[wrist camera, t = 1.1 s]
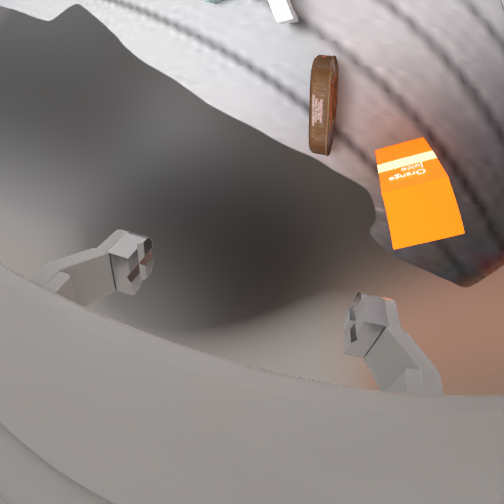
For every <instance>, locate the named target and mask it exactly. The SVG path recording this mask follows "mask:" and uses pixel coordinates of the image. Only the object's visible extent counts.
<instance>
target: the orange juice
mask: <svg viewBox="0 0 504 504" xmlns="http://www.w3.org/2000/svg"><path fill="white" fill-rule="evenodd" d="M375 154H376V159H377V167H378V173H379V178H380V185H381V192H382V197H383V200H384V204H385V208H386V213H387V218H388V223H389V228H390V233H391V238H392V244H393V250H394V249H398V248H403V247H407V246H412V245H417V244H421V243H426V242H430V241H434V240H439V239H443V238H447V237H452V236H456V235H460V234H464V233H465V232H464V228H463V224H462V220H461V216H460V213H459V209H458V206H457V202H456V199H455V196H454V193H453V190H452V187H451V184H450V181H449V177H448V176H447V174H446V172H445V171H444V169H443V167H442V165H441V164H440V162H439V160H438V159H437V157H436V155H435V153H434V152H433V150H432V149H431V148H430V146H429V145H428V143H427V142H426V140H425V139H424V137H422V138H418V139H414V140H411V141H407V142H403V143H400V144H396V145H392V146H389V147H385V148H382V149H378V150H375Z"/></svg>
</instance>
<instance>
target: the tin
mask: <svg viewBox="0 0 504 504" xmlns="http://www.w3.org/2000/svg"><path fill="white" fill-rule="evenodd" d="M337 84H338V66H337V59H336V56H325V55H318V56H317V57H316V58H315V59H314V61H313V65H312V70H311V81H310V110H309V147H310V150H311V152H313V153H317V154H322V155H326V156H329V154H330V151H331V146H332V142H333V137H334V129H335V118H336V102H337Z"/></svg>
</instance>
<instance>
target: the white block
mask: <svg viewBox="0 0 504 504" xmlns="http://www.w3.org/2000/svg"><path fill="white" fill-rule="evenodd" d="M268 1H269V3H270V6H271V8H272V11H273V13H274V16H275V18H276V21H277V22H278V23H282V24H287V23H289V24H292V23H296V22H300V21H299V18H298V16H297V13H295V12H294V9H293V7H292V4H291V2H290V0H268Z"/></svg>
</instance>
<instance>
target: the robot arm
mask: <svg viewBox="0 0 504 504" xmlns="http://www.w3.org/2000/svg"><path fill="white" fill-rule="evenodd" d="M502 4H503V7H504V0H502ZM151 249H152V240H151V239H150V238H147V237H144V236H141V235H138V234H134V233H131V232H127V231H124V230H117V231H115V232H114V233H113V234H112V235H111V236H110V237H109V238H107V239H106V240H105V241H104V242H103V243H102V244H101V245H100V246H99V247H97V249H95V248H92V249H88V250H85V251H82V252H79V253H76V254H73V255H70V256H67V257H64V258H61V259H58V260H55V261H52V262H49V263H46V264H45V265H44V266H43V267H42V268H41V269H40V270H39V271H38V272H37V273H36V274H35V275H34V276H33V277H31V278H30V279H29V278H27V277H25V276H24V275H22V274H20V273H18V272H17V271H15V270H13V269H11V268H10V267H8V266H7V265H5V264H3V263H1V262H0V504H504V395H491V396H445V395H444V394H443V389H442V384H441V379H440V374H439V371H438V370H437V368H436V367H435V366H434V365H433V363H432V362H431V361H430V360H429V359H428V357H427V356H426V355H425V354H424V353H423V351H422V350H421V349H420V348H419V347H418V345H417V344H416V343H415V342H414V341H413V339H412V338H411V337H410V336H409V335H408V334H407V332H406V331H404V330H402V329H401V325H400V320H399V316H398V312H397V308H396V303H395V301H394V300H393V299H389V298H384V297H382V298H381V297H377V296H373V295H369V294H364V293H360V292H358V293H357V294H356V296H355V298H354V306H352V307H350V308H349V309H348V312H347V314H346V317H345V320H344V327H343V329H344V330H343V331H344V333H345V334H346V337H345V339H344V354H347V355H352V356H357V357H362V358H364V361H365V363H366V364H367V366H368V368H369V369H370V371H371V373H372V375H373V377H374V379H375V380H376V382H377V384H378V386H379V388H380V390H381V391H380V390H371V389H364V388H356V387H350V386H344V385H337V384H332V383H326V382H320V381H315V380H310V379H305V378H300V377H295V376H291V375H286V374H281V373H277V372H273V371H268V370H265V369H261V368H257V367H252V366H249V365H245V364H241V363H238V362H234V361H230V360H227V359H224V358H220V357H217V356H213V355H210V354H207V353H204V352H201V351H197V350H194V349H191V348H188V347H185V346H182V345H179V344H176V343H173V342H170V341H167V340H165V339H162V338H159V337H156V336H154V335H151V334H148V333H146V332H142V331H141V330H138V329H135V328H132V327H130V326H128V325H125V324H123V323H120V322H118V321H116V320H113V319H111V318H109V317H106V316H104V315H102V314H99V313H97V312H95V311H93V310H90V309H88V308H86V307H87V306H89V305H90V304H92V303H94V302H96V301H98V300H100V299H101V298H103V297H105V296H107V295H109V294H111V293H113V292H114V291H116V290H118V291H120V292H123V293H126V294H130V295H132V296H133V295H134V294H135V293H136V292H137V290H138V289H139V288H140V286H141V280H144V279H146V278H147V277H148V276H149V274H150V273H151V269H152V267H153V256H152V254H151V253H150V250H151Z"/></svg>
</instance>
